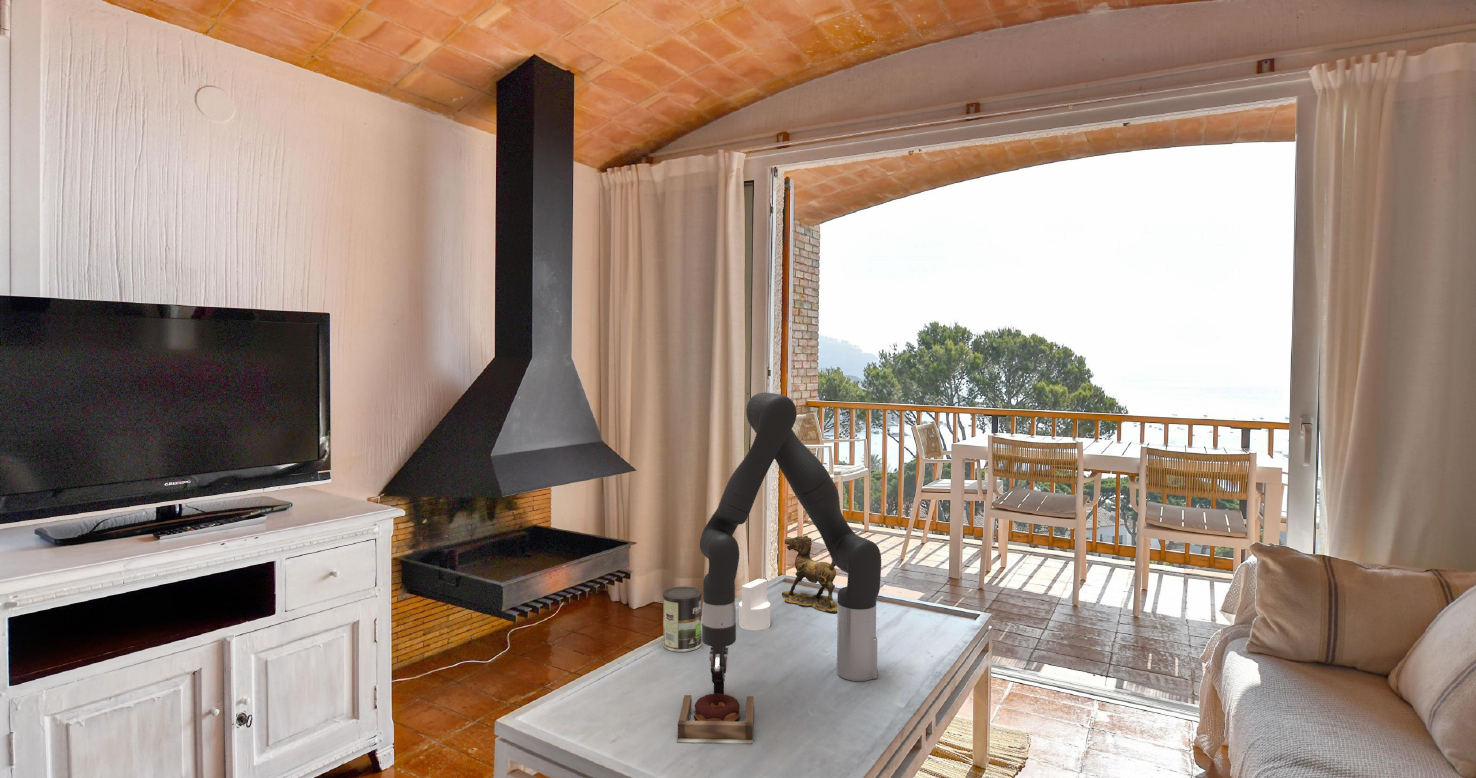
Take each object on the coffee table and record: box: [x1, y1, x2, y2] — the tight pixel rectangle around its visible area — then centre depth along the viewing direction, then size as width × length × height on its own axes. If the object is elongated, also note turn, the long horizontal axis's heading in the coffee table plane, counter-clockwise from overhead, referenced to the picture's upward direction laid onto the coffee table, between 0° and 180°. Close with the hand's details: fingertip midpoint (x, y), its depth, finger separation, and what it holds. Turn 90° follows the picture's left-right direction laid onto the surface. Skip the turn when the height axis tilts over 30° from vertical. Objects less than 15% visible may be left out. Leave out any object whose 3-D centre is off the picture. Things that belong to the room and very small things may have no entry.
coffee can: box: [662, 586, 703, 653], centre depth 193 cm, size 10×10×14 cm
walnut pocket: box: [676, 694, 755, 745], centre depth 151 cm, size 15×14×3 cm
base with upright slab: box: [738, 578, 771, 632], centre depth 208 cm, size 9×9×12 cm
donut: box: [693, 693, 741, 722], centre depth 155 cm, size 10×10×4 cm
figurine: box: [781, 535, 837, 615], centre depth 225 cm, size 13×25×20 cm, turn 42°
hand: (719, 696), depth 161 cm, fingers closed
